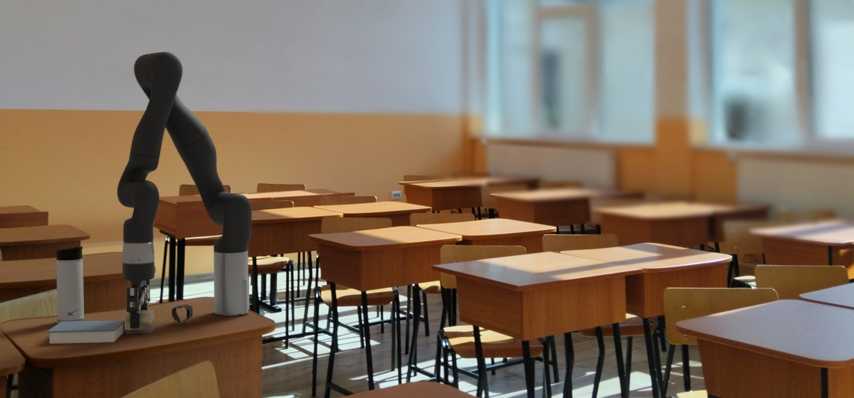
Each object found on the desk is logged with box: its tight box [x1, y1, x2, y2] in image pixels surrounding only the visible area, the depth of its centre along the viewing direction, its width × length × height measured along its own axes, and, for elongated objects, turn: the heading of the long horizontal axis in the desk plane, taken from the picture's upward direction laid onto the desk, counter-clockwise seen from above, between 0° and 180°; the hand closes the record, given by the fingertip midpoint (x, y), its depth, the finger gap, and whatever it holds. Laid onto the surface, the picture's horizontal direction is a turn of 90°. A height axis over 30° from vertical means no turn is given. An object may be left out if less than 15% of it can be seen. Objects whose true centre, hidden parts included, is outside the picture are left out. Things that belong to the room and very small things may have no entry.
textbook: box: [46, 319, 126, 344], centre depth 193 cm, size 15×10×4 cm, turn 97°
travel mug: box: [55, 245, 85, 324], centre depth 208 cm, size 6×7×20 cm
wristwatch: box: [171, 303, 194, 325], centre depth 209 cm, size 3×5×5 cm, turn 77°
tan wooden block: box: [125, 309, 156, 335], centre depth 200 cm, size 6×4×5 cm, turn 97°
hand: (139, 324), depth 199 cm, fingers open, 8 cm apart
